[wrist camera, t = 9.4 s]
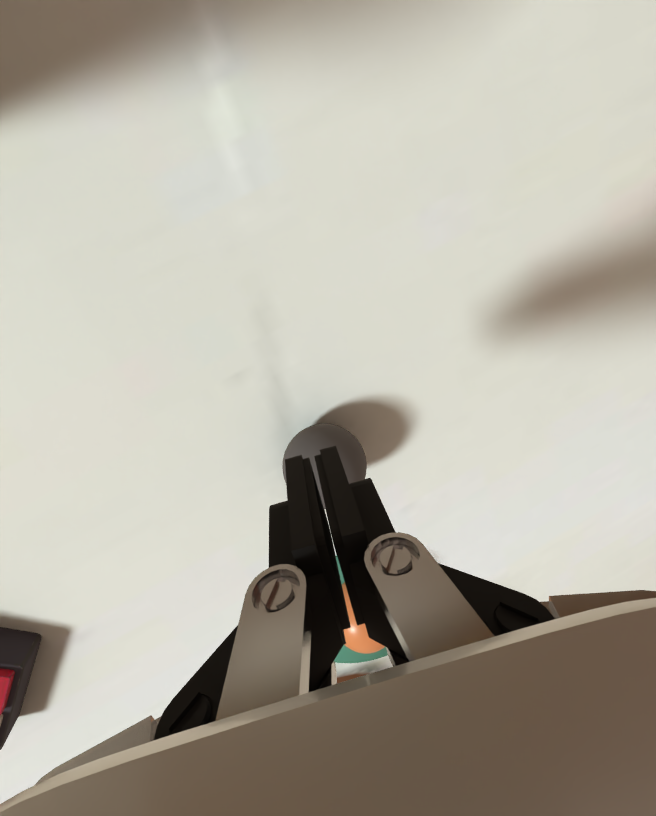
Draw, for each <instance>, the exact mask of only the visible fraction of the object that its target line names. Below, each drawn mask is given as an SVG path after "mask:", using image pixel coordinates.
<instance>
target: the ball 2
mask: <svg viewBox="0 0 656 816" xmlns="http://www.w3.org/2000/svg"><path fill="white" fill-rule="evenodd" d="M342 588H343V593H344V598H345V602H346V607H347V611H348V616H349V621H350V625H351V628H348V629H344V635H345V640H346V644H344V645H345V646H346V647H348V648H349V649H351V650H353V651H355V652H358V653H364V654H369V653H374V652H377V651H379V650H381V649H383V648H384V647H385V646H383V645H381V644H380V643H378V642H376V641H374V640H372V639H371V638H369V637H368V633H367V629H366V626H365V623H364V624H361V625H358V626H357V623H356V620H355V616H354V613H353V609H352V606H351V602H350V599H349V595H348V592H347V588H346V585H345V582H344V583H343V584H342Z"/></svg>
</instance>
